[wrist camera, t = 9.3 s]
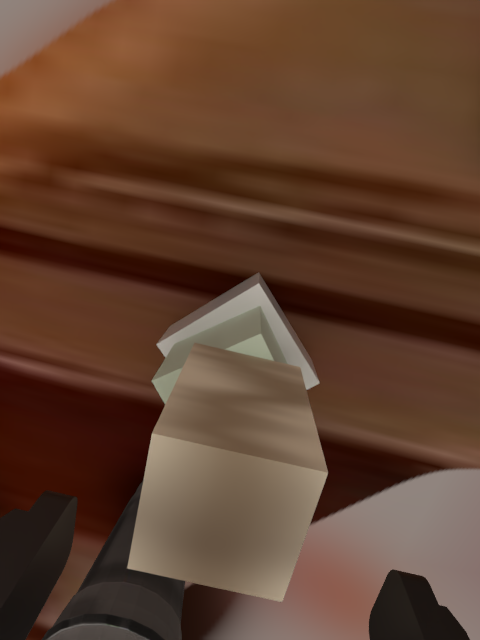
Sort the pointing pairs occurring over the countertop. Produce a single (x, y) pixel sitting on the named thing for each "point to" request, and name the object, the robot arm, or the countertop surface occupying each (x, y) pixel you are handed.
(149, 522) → the birch block
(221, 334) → the sage cube
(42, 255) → the countertop surface
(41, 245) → the countertop surface
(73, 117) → the countertop surface
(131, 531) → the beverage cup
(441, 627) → the robot arm
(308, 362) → the slab
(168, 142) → the countertop surface
